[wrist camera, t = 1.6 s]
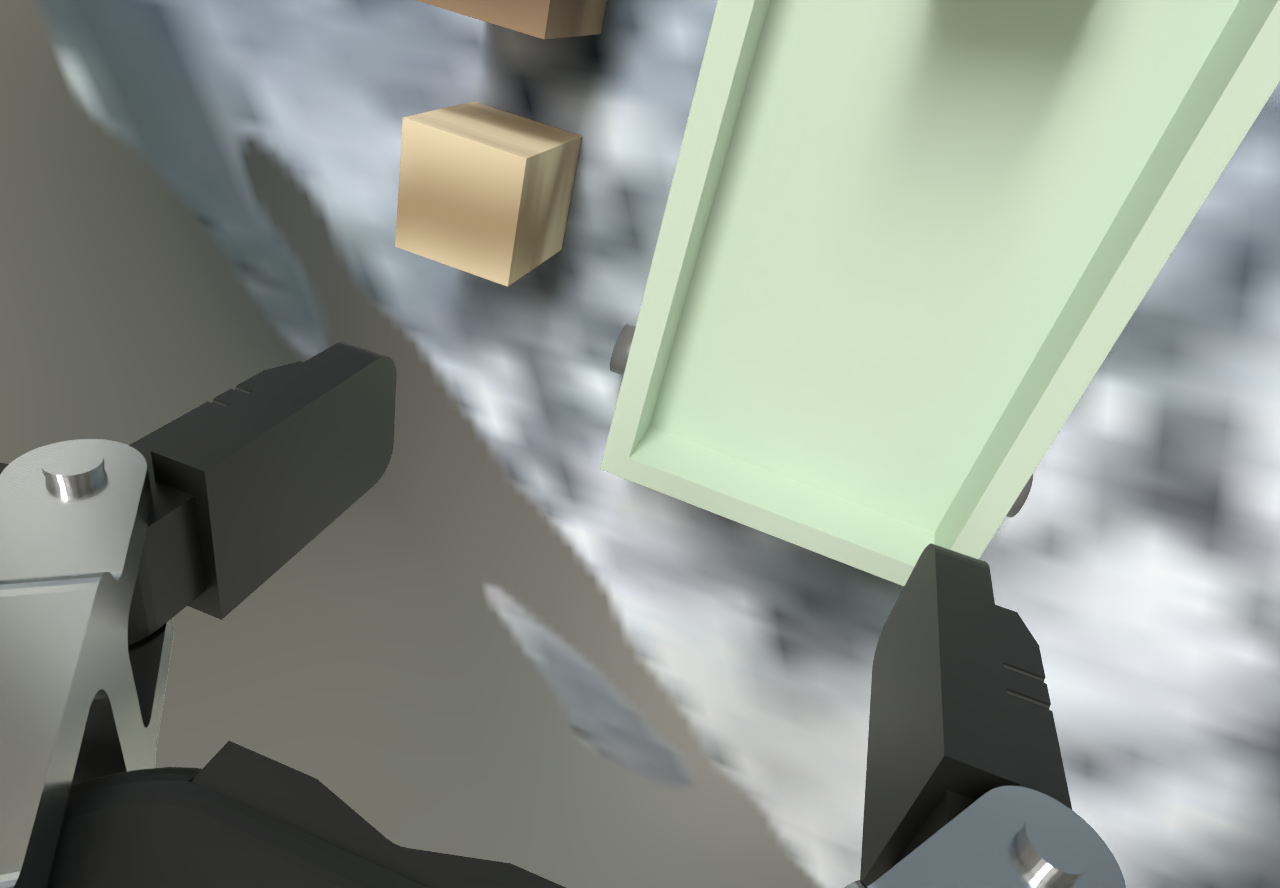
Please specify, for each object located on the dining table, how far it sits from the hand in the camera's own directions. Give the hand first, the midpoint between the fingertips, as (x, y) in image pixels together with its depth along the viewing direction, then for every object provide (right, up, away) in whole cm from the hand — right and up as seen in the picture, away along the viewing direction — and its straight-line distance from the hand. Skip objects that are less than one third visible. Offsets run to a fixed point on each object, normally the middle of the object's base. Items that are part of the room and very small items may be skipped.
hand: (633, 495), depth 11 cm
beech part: (-5, +11, +20) cm, 23 cm away
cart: (+9, +10, +15) cm, 20 cm away
